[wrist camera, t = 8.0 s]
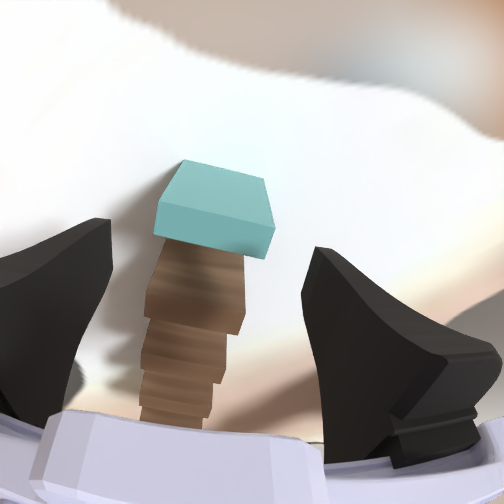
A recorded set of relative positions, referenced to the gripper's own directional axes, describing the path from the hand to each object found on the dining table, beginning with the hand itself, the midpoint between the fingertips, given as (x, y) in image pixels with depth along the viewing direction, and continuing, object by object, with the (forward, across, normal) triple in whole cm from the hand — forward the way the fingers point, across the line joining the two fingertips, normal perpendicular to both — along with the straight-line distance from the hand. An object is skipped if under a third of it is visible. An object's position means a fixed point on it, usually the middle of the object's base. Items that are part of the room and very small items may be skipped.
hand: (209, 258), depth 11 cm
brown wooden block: (+10, +1, +10) cm, 14 cm away
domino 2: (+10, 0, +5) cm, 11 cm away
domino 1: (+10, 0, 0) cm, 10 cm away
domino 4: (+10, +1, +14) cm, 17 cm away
